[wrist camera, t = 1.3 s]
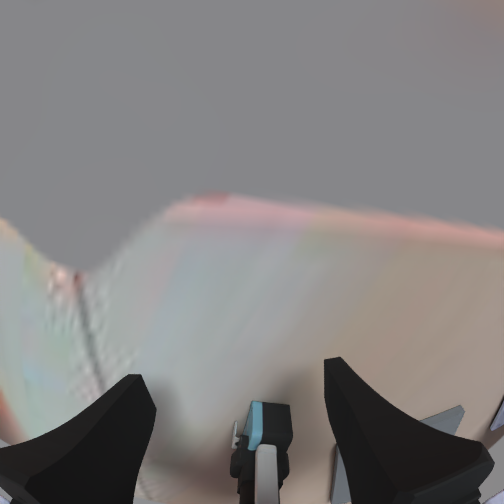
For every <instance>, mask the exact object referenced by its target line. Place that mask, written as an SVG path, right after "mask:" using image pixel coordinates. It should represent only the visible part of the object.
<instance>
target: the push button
mask: <svg viewBox="0 0 504 504" xmlns="http://www.w3.org/2000/svg"><path fill="white" fill-rule="evenodd" d="M236 430H237V421H235V425H234V429H233V438H232V448H233V449H236V451H235V452H234V453H233V454H232V456H231V465H230V475H231V477H233V478H238V491H237V493H238V494H240V501H239V504H280V496H279V490H280V489H281V487H282V485H283V480H284V479H285V478H286V477H287V476H288V475H289V460H288V454H287V453H286V451H287V450H288V448H289V446H290V444H291V442H292V439H293V430H292V421H291V413H290V406H289V405H284V404H274V403H265V402H257V401H252V403H251V406H250V412H249V415H248V418H247V422H246V425H245V428H244V432H243V435H241V436H240V438H237V437H236Z"/></svg>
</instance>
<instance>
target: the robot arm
mask: <svg viewBox="0 0 504 504" xmlns="http://www.w3.org/2000/svg"><path fill="white" fill-rule="evenodd" d="M324 398H325V403H326V408H327V413H328V418H329V421H330V425H331V428H332V431H333V434H334V437H335V439H336V442H337V445H338V448H339V451H340V454H341V457H342V460H343V464H344V467H345V471H346V476H347V481H348V486H349V492H350V497H351V503H352V504H480V502H479V500H478V499H479V498H480V497H481V493H480V491H479V489H478V487H479V486H480V485H481V484H482V483H483V482H484V480H485V479H486V478H487V477H488V475H489V474H490V473H491V471H492V469H493V467H494V464H495V462H494V461H493V459H492V457H491V456H490V454H489V452H488V450H487V449H486V448H485V447H484V445H483V444H482V443H481V442H478V441H474V440H470V439H465V438H461V437H457V436H454V435H451V434H448V433H445V432H443V431H440V430H437V429H435V428H433V427H431V426H429V425H426V424H424V423H422V422H420V421H418V420H416V419H414V418H412V417H411V416H409V415H407V414H406V413H404V412H402V411H401V410H399V409H398V408H396V407H395V406H393V405H392V404H391V403H389V402H388V401H387V400H385V399H384V398H383V397H382V396H380V395H379V394H378V393H377V392H376V391H374V390H373V389H372V388H371V387H370V386H369V385H368V384H367V383H366V382H364V381H363V380H362V379H361V378H360V377H359V376H358V375H357V374H356V373H355V372H354V371H353V370H352V369H351V368H350V366H349V365H348V364H347V363H346V362H345V361H344V360H343V359H342V358H341V357H336V358H330V359H325V360H324ZM156 410H157V409H156V407H155V405H154V403H153V400H152V398H151V396H150V394H149V392H148V389H147V387H146V385H145V382H144V380H143V378H142V375H141V374H128V375H127V376H125V377H124V378H123V379H121V380H120V381H119V382H118V383H116V384H115V385H114V386H113V387H112V388H111V389H109V390H108V391H107V392H106V393H105V394H103V395H102V396H101V397H100V398H99V399H97V400H96V401H95V402H94V403H93V404H91V405H90V406H89V407H87V408H86V409H85V410H83V411H82V412H81V413H79V414H78V415H77V416H75V417H74V418H72V419H71V420H69V421H68V422H66V423H64V424H63V425H61V426H59V427H58V428H56V429H54V430H52V431H50V432H48V433H45V434H43V435H41V436H39V437H37V438H34V439H32V440H29V441H26V442H23V443H20V444H16V445H12V446H8V447H4V448H0V487H1V488H2V489H3V490H4V491H6V492H7V493H8V494H9V495H10V496H11V497H12V498H13V499H12V500H11V502H9V501H8V500H7V499H6V498H4V497H2V496H1V495H0V504H133V498H134V492H135V486H136V481H137V476H138V473H139V469H140V466H141V463H142V460H143V457H144V455H145V452H146V449H147V446H148V443H149V440H150V437H151V434H152V431H153V427H154V422H155V416H156ZM502 425H504V401H503V403H502V406H501V408H500V410H499V412H498V414H497V416H496V417H495V419H494V421H493V423H492V425H491V427H490V429H491V431H493V430H495V429H497V428H499V427H500V426H502ZM483 504H504V489H503V490H502V491H500V492H499V493H497V494H496V495H494V496H492V497H491V498H489V499H488V500H486V501H485V502H484V503H483Z"/></svg>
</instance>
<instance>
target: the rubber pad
mask: <svg viewBox="0 0 504 504" xmlns="http://www.w3.org/2000/svg"><path fill="white" fill-rule="evenodd" d="M464 413H465V411H464V409H463V408H462V406H461V405H459V406H457V407H455V408H452V409H450V410H448V411H445V412H443V413H440V414H437V415H435V416H432V417H429V418H427V419H424V420H421V421H420V422H422V423H424V424H426V425H429V426H431V427H433V428H435V429H437V430H440V431H443V432H445V433H448V434H451V435H455V432H456V430H457V428H458V426H459V424H460V422H461V420H462V417H463V415H464ZM330 500H331V504H342V503H347V502H351V497H350V492H349V486H348V481H347V476H346V471H345V467H344V464H343V460H342V457H341V454H340V451H339V448H338V445H337V446H336V456H335V466H334V474H333V483H332V490H331V497H330Z"/></svg>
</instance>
